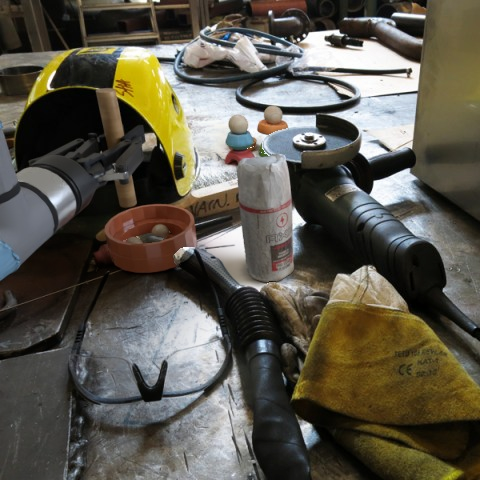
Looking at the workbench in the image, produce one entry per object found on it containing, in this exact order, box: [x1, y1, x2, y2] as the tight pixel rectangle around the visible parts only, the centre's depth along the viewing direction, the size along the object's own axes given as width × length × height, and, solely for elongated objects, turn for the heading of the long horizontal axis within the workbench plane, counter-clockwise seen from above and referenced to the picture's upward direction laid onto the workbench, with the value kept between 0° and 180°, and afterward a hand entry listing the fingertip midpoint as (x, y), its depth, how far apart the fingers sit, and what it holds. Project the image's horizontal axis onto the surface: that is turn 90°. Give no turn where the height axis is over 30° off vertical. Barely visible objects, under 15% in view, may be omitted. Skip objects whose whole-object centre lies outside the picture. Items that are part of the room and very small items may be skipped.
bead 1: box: [126, 237, 143, 243], centre depth 81 cm, size 3×3×3 cm
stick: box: [95, 87, 138, 208], centre depth 72 cm, size 3×3×18 cm
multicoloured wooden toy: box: [224, 105, 289, 165], centre depth 121 cm, size 18×17×12 cm
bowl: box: [104, 203, 198, 274], centre depth 82 cm, size 14×14×6 cm
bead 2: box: [151, 224, 169, 239], centre depth 85 cm, size 3×3×3 cm
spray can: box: [236, 152, 295, 283], centre depth 75 cm, size 8×8×20 cm
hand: (132, 132), depth 77 cm, fingers closed on stick, 3 cm apart
